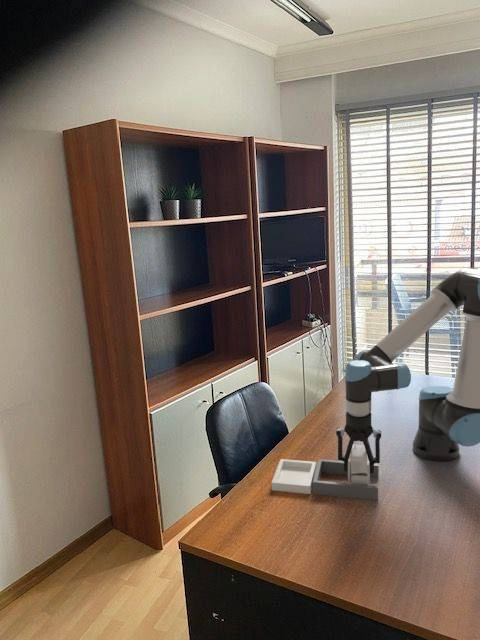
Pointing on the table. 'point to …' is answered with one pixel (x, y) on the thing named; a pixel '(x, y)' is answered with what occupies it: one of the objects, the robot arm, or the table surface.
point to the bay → (342, 488)
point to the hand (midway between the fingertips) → (359, 481)
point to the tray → (294, 476)
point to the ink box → (358, 465)
